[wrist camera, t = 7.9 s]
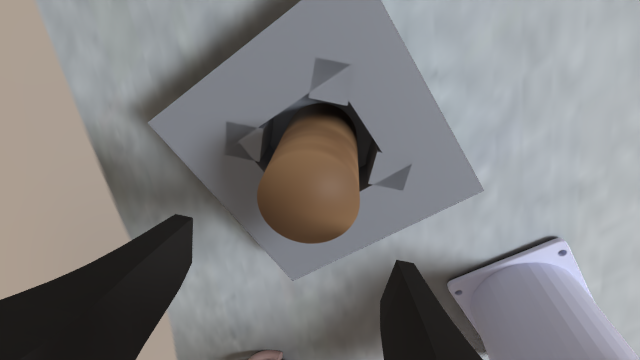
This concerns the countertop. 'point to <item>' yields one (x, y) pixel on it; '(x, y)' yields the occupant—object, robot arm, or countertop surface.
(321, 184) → the walnut pin
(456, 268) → the countertop surface
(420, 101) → the bore block
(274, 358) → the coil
